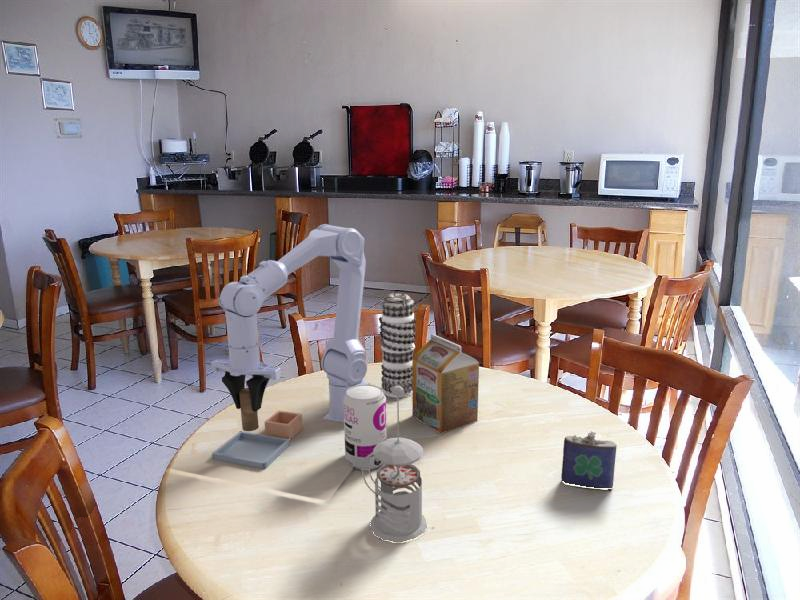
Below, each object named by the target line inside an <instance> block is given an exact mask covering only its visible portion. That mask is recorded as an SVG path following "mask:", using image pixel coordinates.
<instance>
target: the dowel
mask: <svg viewBox="0 0 800 600" xmlns="http://www.w3.org/2000/svg"><path fill="white" fill-rule="evenodd" d="M239 396H240V407H241V408H240V418H241V427H242V431H244V432H253V431H256V430H258V429H259V428H260V427H259V415H258V412H259V411H256V412H254V411H253V410H252V405H251V396H250V392H249V389H248V387H244V389H241V390H240V391H239Z"/></svg>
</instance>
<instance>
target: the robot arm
mask: <svg viewBox="0 0 800 600" xmlns="http://www.w3.org/2000/svg"><path fill="white" fill-rule="evenodd" d="M364 249H365V238H364V237H363V235H362V234H361V233H360V232H359V231H358V230H357V229H355V228H352V227H343V226H336V225H332V224H328V223H324V224H320V225H318V226H317V227H316V228H314V229H312V230H311V231H310V232H309V234H308V236H307V237H306V238H304V239H303V240H302V241H301V242H300V243H298V244H297V245H296V246H294V247H293V248H292V249H291V250H290V251H289V252H287V253H286V254H285V255H283V256H282V257H281V258H280V259H278V260H277V261H276V260H272V259H268V260H262V261H261V262H259V263H258V265H259V266H258V267H257V268H255V269H254V270H253V271H251V272H249V273H248V274H247V275H242V276H240V278H239V281H231V282H229V283H227V284H225V286H224V287H223V288H222V290H221V292H220V295H219V297H218V298H217V301H218V304H219V306H220V308H222V309H223V311H224V314H225V315H224V316H225V321H226V322H225V323H226V332H227V343H228V344H227V346H228V357H229V359H215V360H213V361H211V362H210V365H211V367H210V368H211V372H212V373H217V372H223V373H225V374H224V375H223V376H222V377H221V382H222V383H223V385H224V386H225V387H226V389H227V390H228V392H229V393H230V395H231V398H232V400H233V402H234V405H235V408H236V409H237V410H241V407H240V396H239V391H240V390H241V389H244V388H246V387H247V388H248V389H249V392H250V396H251V405H252V410H253V411H254V412H256V411H257V412H259V410H260V409H262V405H263V404H262V403H263V398H264V394H265V391H266V388H267V386H268V383H269V381H270V379H271V381H278V379H280V378H281V377H282V372H281V371H282V369H281V367H278V366H274V365H271V364H268V363H265V362H263V361H261V356H260V355H261V354H260V342H259V330H258V329H259V328H258V316H257V313H258V312H259V311H260V309H261V307H262V305H263V302H264V301H265V300H266V299H267V298H269V297H270V296H271V295H272V294H274V293H275V292H277V291H279V289H281V288H282V287H283V286H285V285H286V284H287V283H288V278H289V275H290V274H292V273H293V272H295V271H297V270H298V269H300V268H301V267H303V266H305V265H306V264H307V263H310V262H311V261H312V260H314V259H316V258H317V257H328V258H330V259H331V260H332V261H333V262H334V264H336V265H337V267H338V268H339V276H338V277H339V278H338V290H337V299H336V309H335V321H334V330H333V338H331V339H330V340H329V341H327V343H326V344H325V351H324V353H323V354H322V358H321V361H320V365H321V369H322V371H323V372H324V373H326V378H327V379H328V396H329V411H328V413H326V415H325V416H324V417H323V420H329V421H334V422H335V421H336V422H341V423H342V422H343V423H344V404H343V399H344V397H345V395H346V392H347V390H348V389H349V388H350V387H353V386H356V385H362V384H369V385H372V384H371V383H370V382H367V381H365V380H364V378H365V377H366V374H367V371H368V364H367V363H368V362H367V360H366V354H367V353H366V349H365V347H364V346H363V345H362V343H361V342H360V340H359V335H360V326H361V325H360V324H361V315H362V314H361V313H362V306H363V295H364V294H363V293H364V285H365V284H364V283H365V275H366V263H367V262H366V261H367V259H366V257H365V256H366V255H365V252H364V251H365V250H364ZM246 376H251V378H249V379H247V380H246ZM245 384H246V385H245Z"/></svg>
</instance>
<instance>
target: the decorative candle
mask: <svg viewBox="0 0 800 600" xmlns="http://www.w3.org/2000/svg"><path fill="white" fill-rule="evenodd" d="M380 303H381V304H382V305H381V306H382V313H381V317H379V318H378V321H379V323H380V325H379V329H380V332H379V335H380V337H381V339H380V345H381V346H380V347H381V348H380V349H381V350H382V359H381V361H382V362H381V363H382V364H381V365H380V367H381V375H382V376H381V379H380V380H381V389H382V390H383V394H384V395H385V397H387V398H388V397H389V398H393V399H394V398H395V399H397V395H393V394H392V388H393V387H394V386H401V387H402V388H403V391H404V393H403V394H402V395H399V399H403V398H408V397H410V396H411V397H412V359H413V357H414V350H415V348H416V345H415V343H416V341H417V339H416V338H415V337H416V335H417V333H416V331H414V330H415V329H416V328H418V326H417V324H415V323H417V321H418V319H417V318H416V317H415V313H414V303H415V300H413V299H412V298H411V297H410V295H408V294H406V293H401V292H395V293H394V292H393V293H390V294H387V295H385V297H384V299H382V300H381V301H380Z"/></svg>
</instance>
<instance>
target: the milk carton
mask: <svg viewBox="0 0 800 600" xmlns="http://www.w3.org/2000/svg"><path fill="white" fill-rule="evenodd" d="M479 375H480V362H479V361H478V360H477V359H476V358H474V357H473V356H471V355H468V354H466V353H464V352H462V346H461V345H459V344H457V343H456V342H455V343H454V342H453V341H450V340H448V339H445V338H443V337H441V336H438V335H436V334H434V333H431V334H430V340H428V341H427V342H426V343H425V344H424V345H423V346H421V348H420V349H418V351H417V352H416V353H415V354H414V355H413V359H412V395H411V397H412V400H411V401H412V402H411V403H412V410H411V411H412V417H414V418H416V419H417V420H418V421H419V422H422V423H423V424H425V425H426V426H428V427H429V428H431V429H432V430H434V431H436V432H437V433H439V434H443V433H447V432H450V431H452V430H455V429H458V428H461V427H464V426H468V425H470V424H472V423H476V422H478V419H479V418H478V414H479V413H478V409H479V381H480V380H479V379H480V377H479Z"/></svg>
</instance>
